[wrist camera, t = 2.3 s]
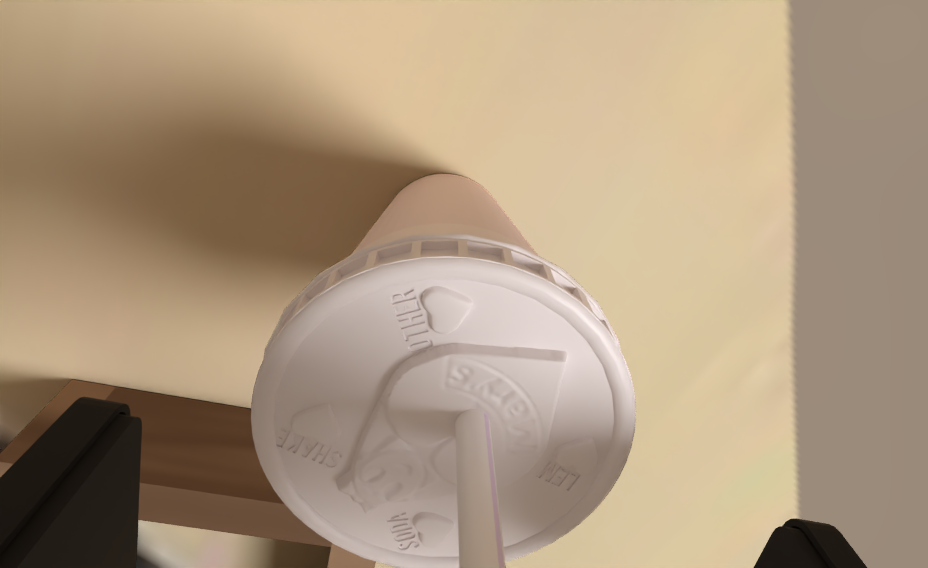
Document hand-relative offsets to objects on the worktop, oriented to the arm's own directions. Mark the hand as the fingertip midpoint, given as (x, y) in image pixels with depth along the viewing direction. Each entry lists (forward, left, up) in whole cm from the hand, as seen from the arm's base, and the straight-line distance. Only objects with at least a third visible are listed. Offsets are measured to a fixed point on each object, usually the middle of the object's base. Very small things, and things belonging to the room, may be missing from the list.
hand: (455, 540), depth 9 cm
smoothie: (-1, 0, -11) cm, 11 cm away
